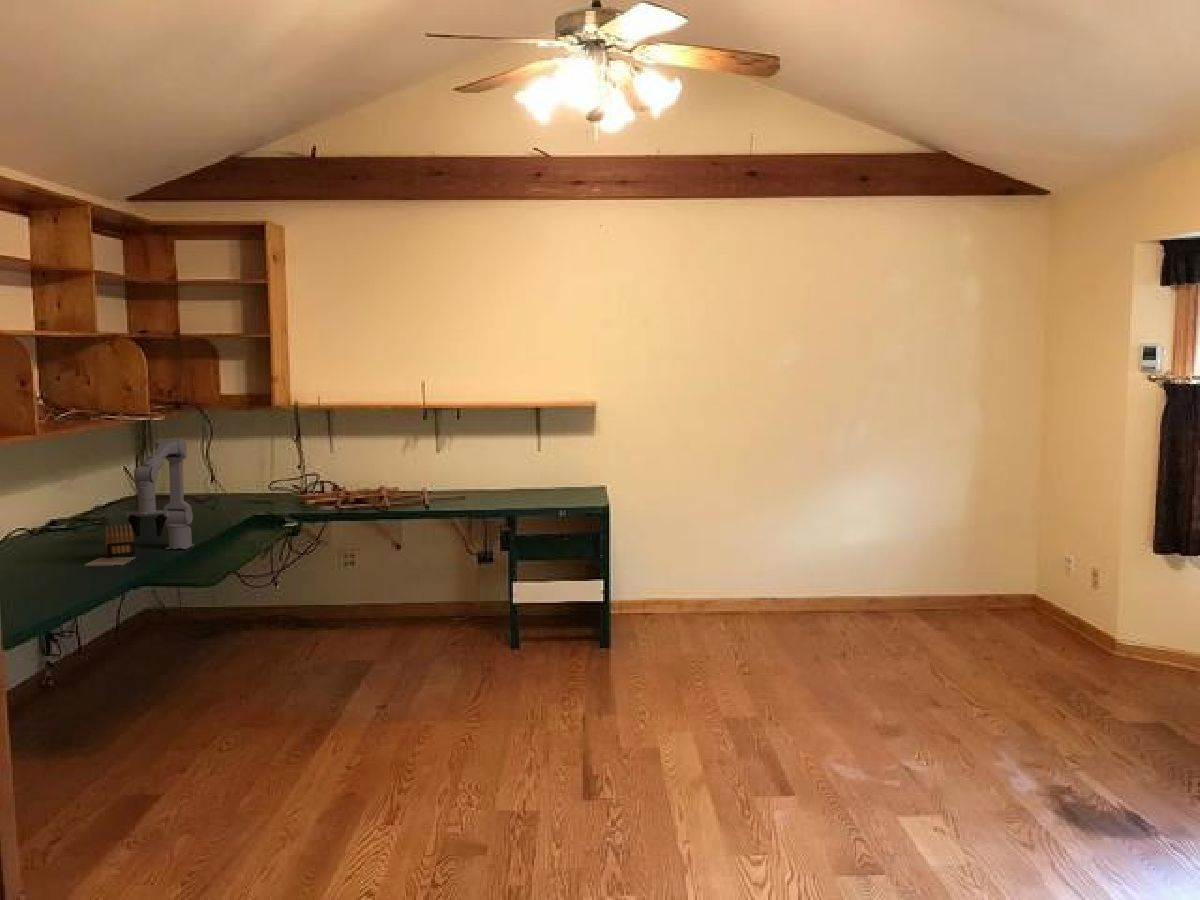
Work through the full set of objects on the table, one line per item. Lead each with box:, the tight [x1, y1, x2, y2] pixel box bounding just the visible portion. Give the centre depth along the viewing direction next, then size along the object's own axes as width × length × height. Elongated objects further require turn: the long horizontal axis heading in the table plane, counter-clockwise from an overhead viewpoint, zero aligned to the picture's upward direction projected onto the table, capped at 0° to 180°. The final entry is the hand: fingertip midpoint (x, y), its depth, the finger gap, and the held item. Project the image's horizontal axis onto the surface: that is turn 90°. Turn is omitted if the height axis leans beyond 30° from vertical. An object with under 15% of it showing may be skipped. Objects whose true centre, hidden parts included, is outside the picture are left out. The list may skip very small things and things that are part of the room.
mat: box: [84, 556, 137, 567], centre depth 350 cm, size 12×13×1 cm
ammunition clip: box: [104, 523, 136, 558], centre depth 359 cm, size 11×2×12 cm, turn 143°
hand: (148, 536), depth 348 cm, fingers open, 7 cm apart
